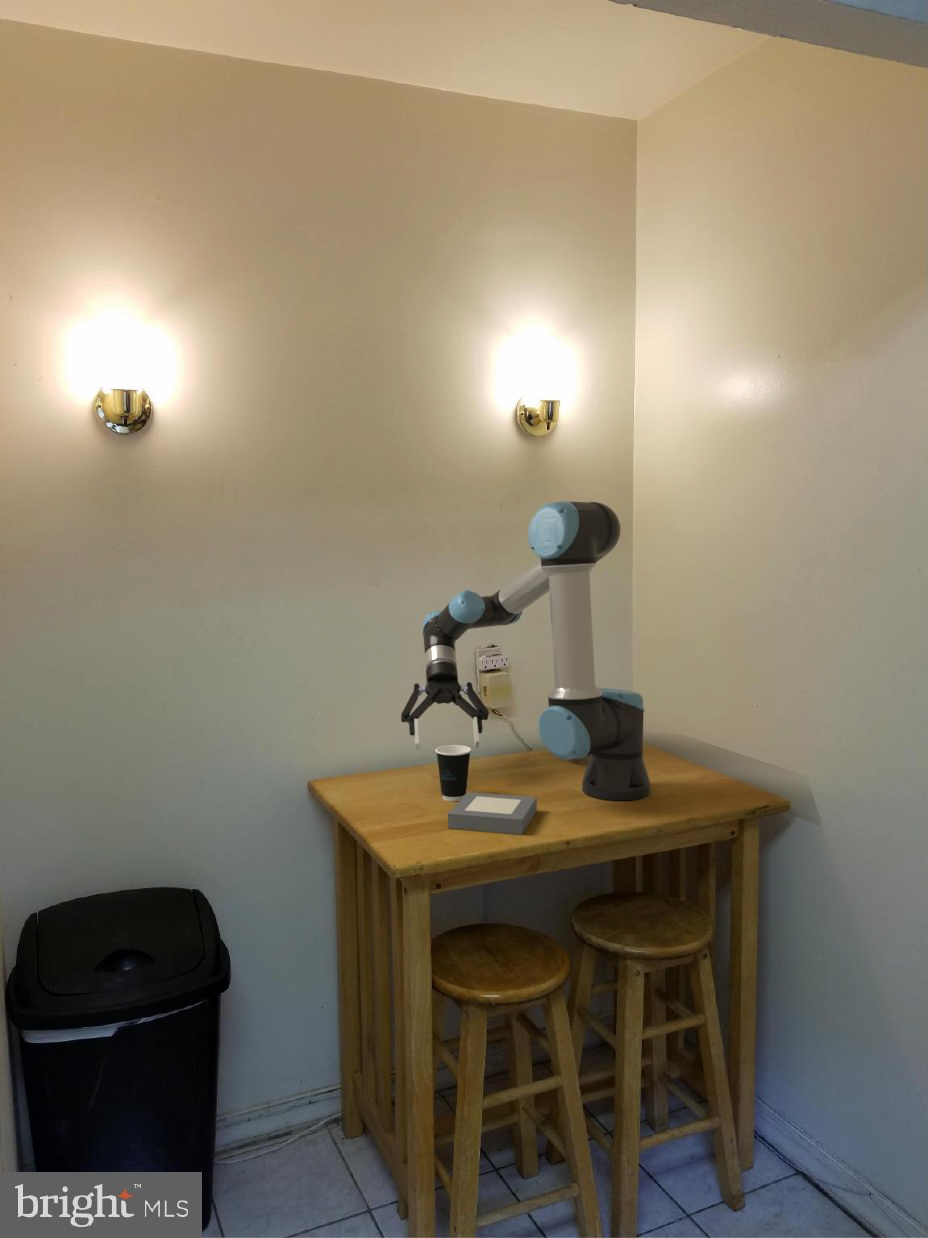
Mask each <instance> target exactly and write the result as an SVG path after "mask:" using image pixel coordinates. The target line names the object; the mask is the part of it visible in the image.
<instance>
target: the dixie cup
mask: <svg viewBox="0 0 928 1238" xmlns="http://www.w3.org/2000/svg"><path fill="white" fill-rule="evenodd" d="M471 752H472V748H471V747H469V746H465V745H461V744H459V745H458V744H451V745H449V744H448V745H442V746H438V747H436V748H435V753H436V758H437V765H438V767H437V768H438V774H439V783H440V792H441V795H442V798H443V800H444V801H446V802H459V801H460V800H461V799H462V798H463V797H464V796H465V795H466V794H467V786H468V778H469V777H468V776H469V767H470V756H471Z"/></svg>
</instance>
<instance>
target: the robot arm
mask: <svg viewBox="0 0 928 1238" xmlns="http://www.w3.org/2000/svg"><path fill="white" fill-rule="evenodd" d="M527 532H528V533H527V535H528V536H527V537H528V544H529V547H530V549H531V550H533V553H534V554H535V555H536V556H537V557H538V559H537V560H536V561H535V562H533V563H532V564H531V565H529V566H528V567H527V568H526V569H524V570H523V571H522V572H521V573H520V574H517V576H516V577H514V578H513V579H511V580H510V581H509V582H508V583H506V584H505V585H504V586H503V587H501V588H500V589H499V590H498V591H496V592H495V593H493V594H491V595H486V596H481V595H480V594H479V593H477V592H476V591H471V590H470V589H465V590H462V591H460V592H459V593H458V594H457V595H456V596H454V597H453V598H452V599H451V600H450V602H449V603H448V604H447V605H446V606H445V607H444V608H443V610H435V611H433V612H431V613H428V614H427V615H426V616H425V617H424V619H423V622H422V623H423V627H422V636H423V647H424V661H425V663H424V664H425V677H426V680H425V681H426V685H420V684H419V683H418V682H417V683H414V685H413V692H412V693H411V695H410V697H409V699H408V701H407V703H406V705H405V706H404V708H403V710H402V711H401V715H400V721H401V723H408V727H409V728H408V729H409V735H410V736H414V749H415V751H417V750H419V748H420V739H419V735H420V734H419V719H420V718H421V716H423V714H424V713H425V712H426V711H427V710H428V709H429V707H432V705H433V704H434V703H436V704H437V705H440V704H451V703H452V704H454V705H455V706H457V707H459V709H461V710H462V711H463V712H464V713H466V714H467V715H468V716H469V717H470V718H472V730H473V741H474V748H475V749H476V748H479V746H480V736H479V735H480V734H482V733H483V721H487V720H488V719H489V713H490V712H489V710H488V709H487V707H486V705H484V702H483V701H482V700H481V699H480V697H479V696H478V695H477V693H476V691H475V690H474V687H473V683H472V682H471V681H468V682H467V683H466V684H462V685H461V684H460V683H459V677H458V675H459V674H458V668H457V667H458V664H457V655H456V642H457V640H459V639H460V638H461V637H462V636H463V635H464V634H465V633H466V632H467V631H468V630H470V629H480V628H488V627H498V626H508V625H511V624H515V623H517V622H518V621H519V620H520V618H521V617H522V614H523V611H524V610H526V609H528V608H529V607H530V606H531V605H533V604H534V603H535V602H536V601H538V600H539V599H541V598H542V597H543V596H545V595H547V594H548V593H549V601H550V602H549V603H550V604H549V605H550V622H551V623H550V624H551V625H550V626H551V641H552V643H551V644H552V660H553V661H552V662H553V677H554V679H553V680H554V681H553V682H554V687H553V688H552V690H551V691H550V692H549V694H547V698H548V699H547V700H548V701H547V702H548V703H547V704H548V705H547V706H548V707H547V708H545V709H544V710H543V711H542V714H541V715H539V719H538V733H539V737H540V739H541V742H542V744H543V745H544V746H545V748H546V749H548V751H549V753H551V754H552V755H553V756H555V757H556V758H559V759H561V760H566V761H567V760H569V761H570V759H575V758H576V759H579V758H583V757H585V756H587V755H590V759H589V762H588V765H586V769H585V771H584V773H583V777H582V782H581V783H582V784H581V785H582V787H581V788H582V792H583V793H584V794H586V795H588V796H590V797H593V798H597V799H601V800H609V801H632V800H633V801H634V800H639V799H643V798H646V797H647V796H649V795H650V794H651V780H650V777H649V773H648V770H647V768H646V765H645V762H644V757H643V755H644V752H643V751H644V750H643V749H644V712H645V709H644V697H643V696H642V695H641V694H640V693H639V692H636V691H632V690H631V691H630V690H626V689H625V690H624V689H618V688H607V687H606V688H603V687H601V688H600V687H597V685H596V679H595V678H596V676H595V660H594V659H595V658H594V655H595V654H594V642H593V641H594V640H593V637H594V635H593V617H592V616H593V615H592V599H591V597H592V596H591V579H590V577H591V576H590V572H591V571H592V570H593V568H595V567H596V565H597V562H598V561H600V560H601V559H603V558H605V557H606V556H607V555H608V554H609V553H611V552H612V551H613V550H614V549H615V548H616V546H617V544H618V542H619V540H620V538H621V537H620V536H621V523H620V519H619V517H618V514H616V513H615V511H614V510H613V509H612V508H611V507H609V506H608V505H606V504H604V503H601V502H597V501H596V502H595V501H588V502H587V501H562V500H561V501H556V502H554V501H553V502H550V503H546V504H544V505H542V506H541V507H540V508H539V509H537V511H536V513H534V515H533V516H532V518H531V520H530V522H529V526H528V531H527ZM436 625H437V626H436ZM438 629H439V630H438ZM461 692H463V693H464V695H467V698H468V700H469V701H470V702H471V703H470V702H469V701H467V700H466V699H465V698H464V697H463V696H462V694H461ZM423 693H425V694H426V697H425V698H424V700H422V702H421V703H420V704H418V706H417V707H416V708H415V705H416V704H417V701H418V699H419V696H420V697H421V695H423ZM414 708H415V709H414ZM413 709H414V710H413ZM412 710H413V711H412Z"/></svg>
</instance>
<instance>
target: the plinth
mask: <svg viewBox="0 0 928 1238" xmlns="http://www.w3.org/2000/svg"><path fill="white" fill-rule="evenodd" d="M537 797H538V796H526V795H525V796H524V795H514V794H513V795H510V794H501V793H499V794H497V793H486V792H485V793H484V792H474V791H473V792H471V791H467V792H466V794H465V796H464V797H463V798H462V799H461V800H460V801H457V804H455V805H454V807H453V808H451V810H450V811H448V813H447V829H451V830H452V829H454V830H464V831H477V832H485V831H488V832H487V833H497V832H499V834H509V835H511V834H512V835H520V836H521V835H523V834H524V833H525V831H526V829H527V827H528V826H529V824H530V823H531V821H532V819H533V818H534V816H535V814H536V813H537V810H538V809H537V808H538V803H537V801H538V798H537Z"/></svg>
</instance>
